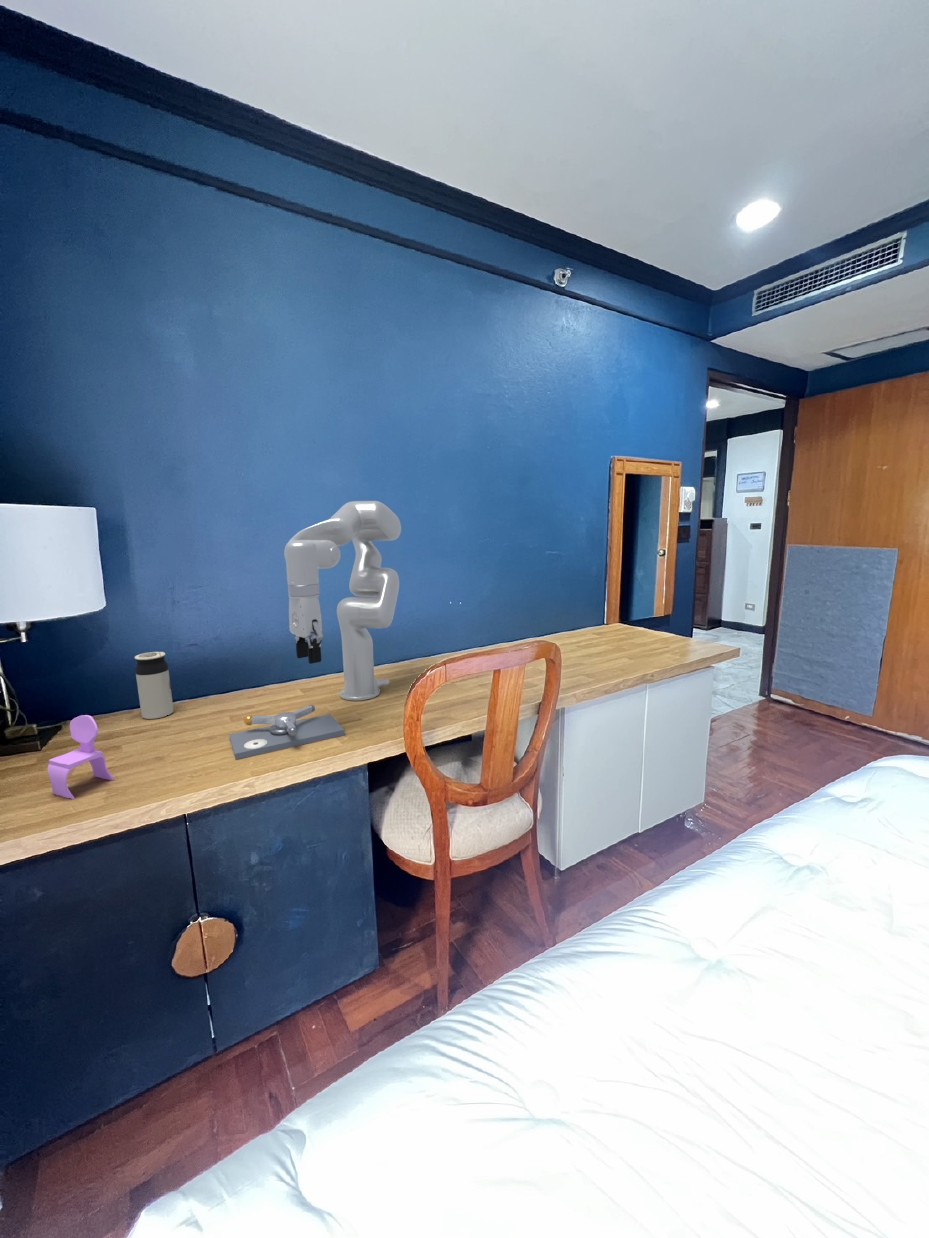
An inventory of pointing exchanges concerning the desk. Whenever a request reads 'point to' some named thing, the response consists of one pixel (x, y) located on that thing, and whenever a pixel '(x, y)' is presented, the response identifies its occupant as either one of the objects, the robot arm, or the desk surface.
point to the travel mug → (153, 685)
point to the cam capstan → (281, 720)
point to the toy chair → (78, 756)
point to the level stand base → (284, 736)
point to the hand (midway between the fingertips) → (308, 659)
